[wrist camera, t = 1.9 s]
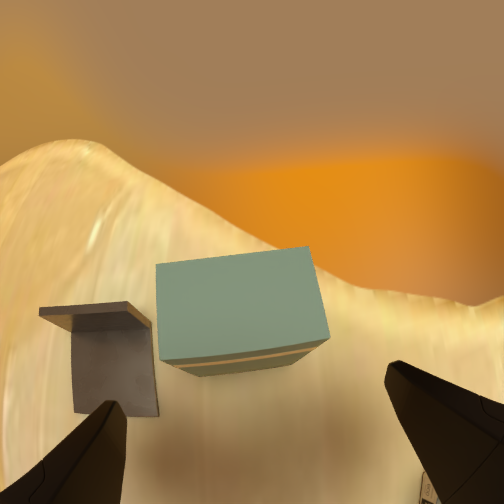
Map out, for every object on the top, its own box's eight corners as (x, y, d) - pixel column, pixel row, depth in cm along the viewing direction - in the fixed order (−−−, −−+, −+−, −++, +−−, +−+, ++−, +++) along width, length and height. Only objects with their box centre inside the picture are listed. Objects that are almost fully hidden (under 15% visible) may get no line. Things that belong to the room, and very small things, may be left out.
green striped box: (291, 364, 19) (331, 337, 11) (199, 376, 19) (159, 360, 10) (281, 311, 21) (308, 245, 12) (193, 322, 21) (155, 263, 12)
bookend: (159, 416, 17) (134, 421, 13) (76, 412, 17) (39, 411, 12) (151, 322, 21) (127, 301, 16) (74, 326, 20) (39, 307, 15)
